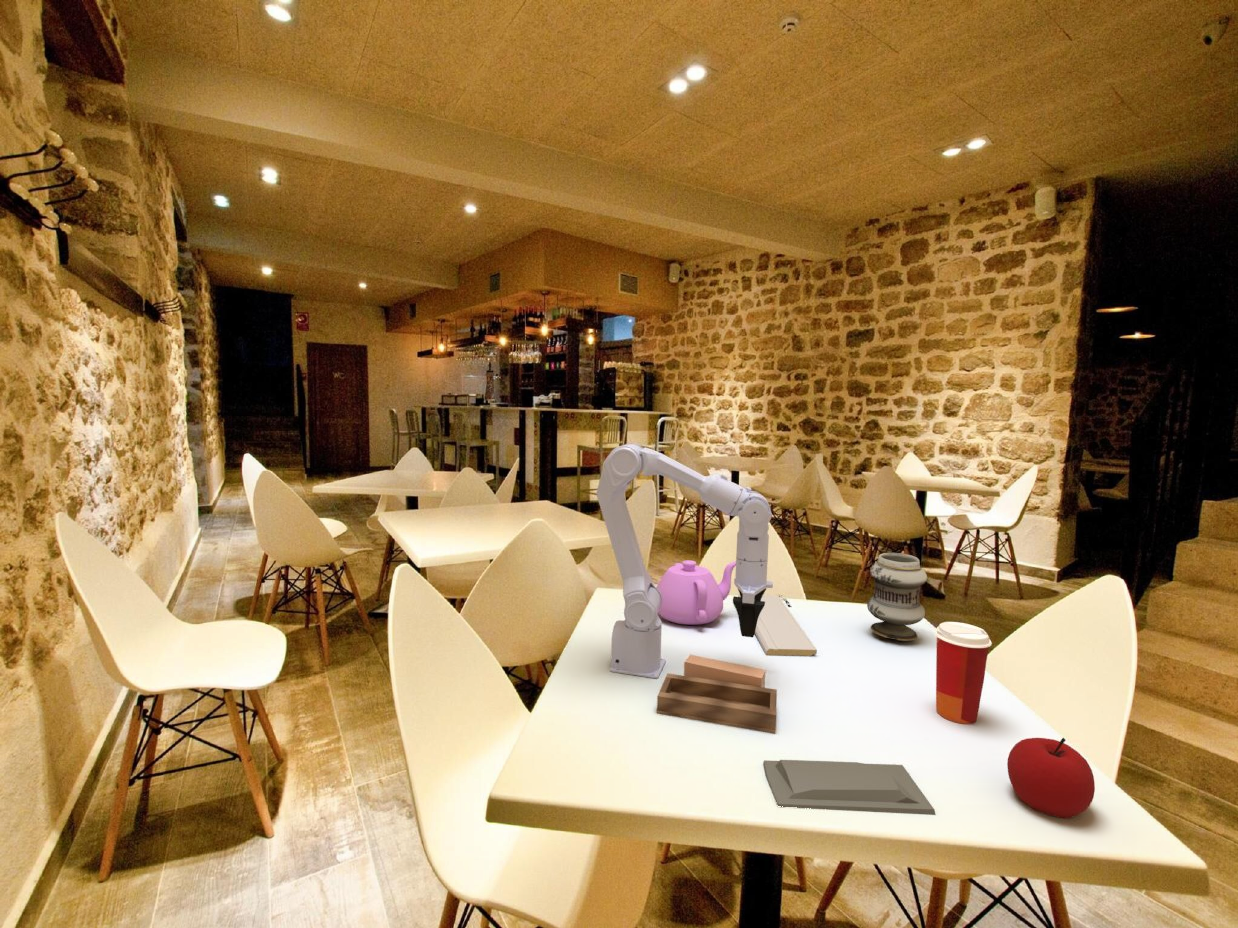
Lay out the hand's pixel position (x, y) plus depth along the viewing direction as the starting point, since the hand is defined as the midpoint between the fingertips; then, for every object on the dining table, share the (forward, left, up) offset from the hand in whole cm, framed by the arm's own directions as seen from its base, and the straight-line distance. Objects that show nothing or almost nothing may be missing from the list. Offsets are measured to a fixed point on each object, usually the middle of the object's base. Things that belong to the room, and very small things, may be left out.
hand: (748, 628), depth 108 cm
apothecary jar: (+32, +34, -10) cm, 48 cm away
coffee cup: (+35, -2, -10) cm, 36 cm away
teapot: (-14, +30, -10) cm, 35 cm away
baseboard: (+11, +30, -9) cm, 33 cm away
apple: (+40, -24, -10) cm, 48 cm away
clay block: (-4, -6, -10) cm, 13 cm away
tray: (-4, -14, -10) cm, 18 cm away
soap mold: (+14, -29, -11) cm, 34 cm away
